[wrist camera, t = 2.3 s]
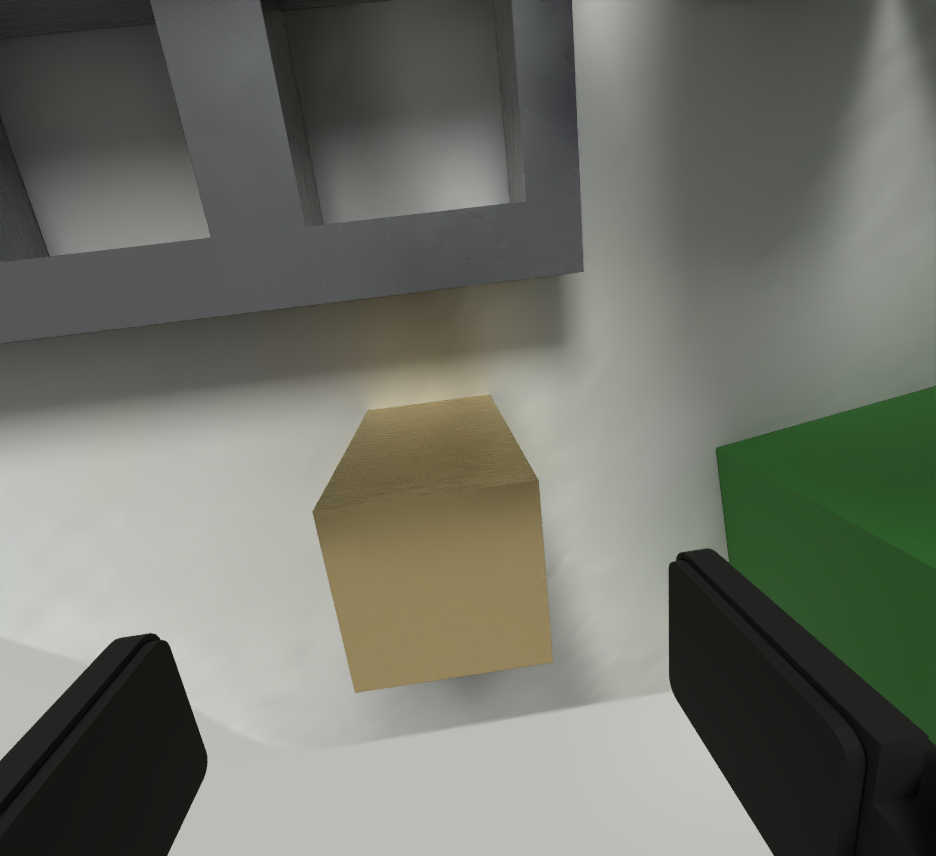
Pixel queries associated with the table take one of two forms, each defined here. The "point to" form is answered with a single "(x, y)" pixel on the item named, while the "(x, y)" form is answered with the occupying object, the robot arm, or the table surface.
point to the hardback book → (847, 538)
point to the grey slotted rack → (292, 181)
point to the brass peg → (435, 546)
